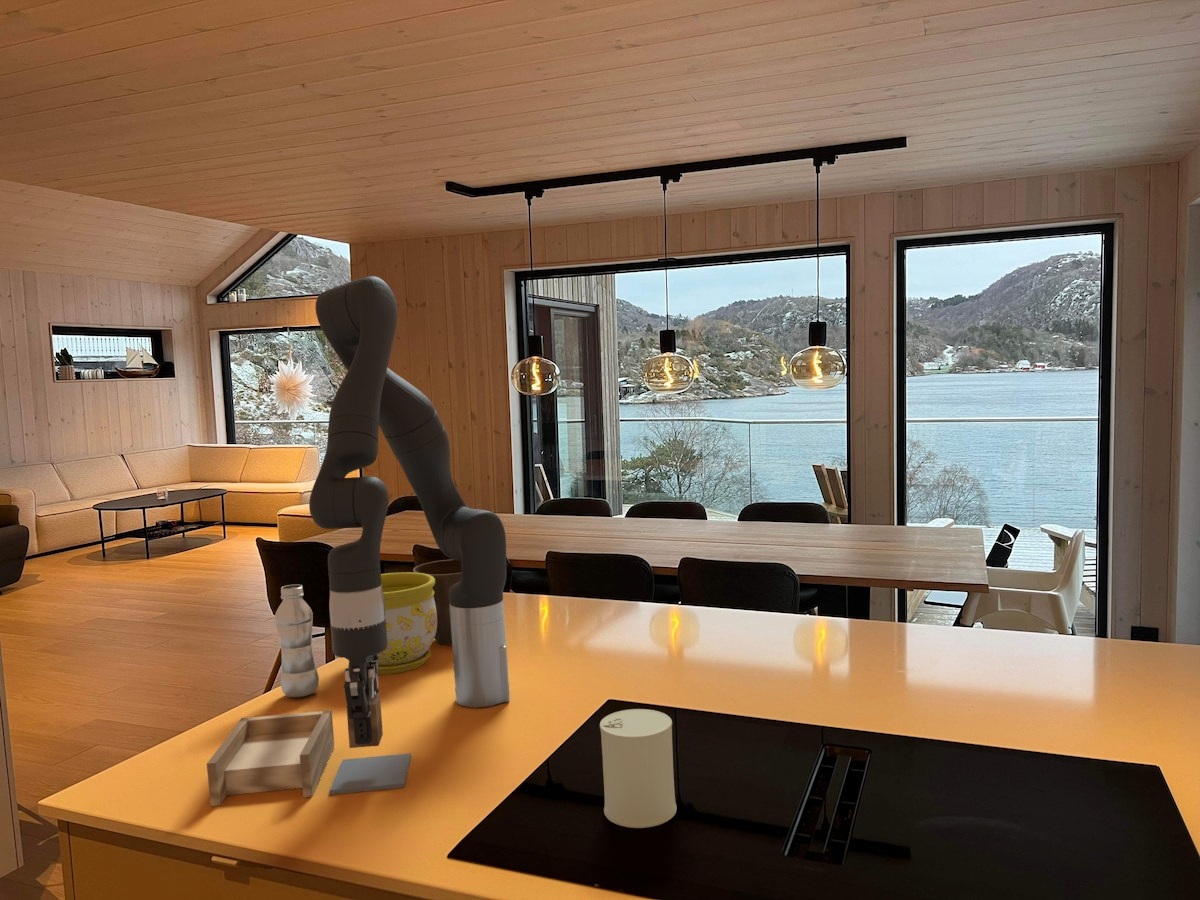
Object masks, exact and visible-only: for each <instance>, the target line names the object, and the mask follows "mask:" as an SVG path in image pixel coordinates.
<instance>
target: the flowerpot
mask: <svg viewBox="0 0 1200 900" xmlns="http://www.w3.org/2000/svg"><path fill="white" fill-rule="evenodd" d="M381 585H382V591H383V596H384V602H385V616H386V631H387V648H386V649H385V650H384V651H383V652H381V653H379V654H377V655H378V675H390V674H399V673H403V672H407V671H411V670H414V669H418V668H419V667H421V666H423V665H424V664H425V663H426V662H427V660H428V658H429V657H430V656H431V654H432V652H431V650H430V647H431V645H432V644H433V642H434V641H435V638H434V637H435V634H436V630H437V611H436V605H435V601H434V596H433V595H434V591H433V588H432V587H433V586H434V585H435V579H434V577H433V576H431V575H428V574H424V573H414V571H413V572H410V571H409V572H408V571H407V572H388V573H387V572H386V573H381Z"/></svg>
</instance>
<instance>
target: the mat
mask: <svg viewBox="0 0 1200 900" xmlns="http://www.w3.org/2000/svg"><path fill="white" fill-rule="evenodd" d="M411 760H412V752H410V753H409V752H408V753H399V754H391V755H390V754H389V755H387V754H386V755H378V756H377V755H376V756H368V757H367V756H366V757H357V758H346V759H342V760H341V762H340V765H339V767H338V768H337V772H336V775H335V777H334V779H333V782H332V784H331V786H330V788H329V795H341V794H351V793H352V794H353V793H359V792H360V793H361V791H362V792H371V791H381V790H392V789H403V788H405V785H406V780H407V778H408V777H407V776H408V774H409V769H410V765H411V762H412V761H411Z"/></svg>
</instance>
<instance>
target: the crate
mask: <svg viewBox="0 0 1200 900" xmlns="http://www.w3.org/2000/svg"><path fill="white" fill-rule="evenodd" d="M333 725H334V724H333V712H332V710H323V711H322V710H320V711H309V712H308V711H307V712H298V713H287V714H275V715H266V716H265V715H262V716H252V717H243V718H242V717H241V718H240V719H239V721H238V722H237V724H236V725H235V726H234V727H233V729H232V730H231V732H230V733H229V734H228V735H227V737H226V738H225V739H224V740H223V742H222V743H221V744H220V745H219V747H218V749H217V750H216V751H215V753H213V755H212V756H211V757H210V759H209V760H208V761H207V763H206V770H207V771H206V772H207V781H208V782H207V783H208V791H209V801H210V807H220V806H221V804H222V803H223V801H224V800H225V799H226V797H227V796H231V795H233V796H234V795H241V794H243V795H244V794H253V793H263V792H272V791H273V792H274V791H282V790H284V789H285V790H293V789H294V788H296V789H302V794H303V795H302V797H303V798H312V797H314V794H315V792H316V790H317V788H318V786H319V783H320V781H321V779H320V778H322V777H323V775H322V774H324V773H323V772H325V770H326V768H327V766H328V764H327V762H328V760H329V761H330V759H331V757H332V755H331V753H332V751H333V749H334V750H335V748H334V746H335V738H334V737H335V735H334V726H333ZM333 752H334V751H333ZM332 754H333V753H332ZM330 756H331V757H330ZM329 758H330V759H329ZM328 763H329V762H328ZM326 765H327V766H326ZM325 767H326V768H325ZM324 769H325V770H324ZM321 776H322V777H321ZM317 785H318V786H317ZM294 790H295V789H294Z"/></svg>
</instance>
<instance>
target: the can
mask: <svg viewBox="0 0 1200 900" xmlns="http://www.w3.org/2000/svg"><path fill="white" fill-rule="evenodd" d="M599 729H600V737H601V753H602V772H603V788H604V789H603V791H604V807H603V813H604V816H605V817H606V818H607V820H608V821H610V822H611V823H613V824H615V825H618V826H621V827H625V828H633V829H644V828H645V829H646V828H652V827H657V826H660V825H663V824H664V823H665V824H666V822H668V821H669V820H671V819H672V818H674V816H675V815H676V813H677V803H676V796H675V795H676V794H675V792H676V791H675V780H674V779H675V778H674V777H675V776H674V775H675V773H674V757H673V756H674V755H673V754H674V753H673V751H674V750H673V720H672V718H671V717H670V716H669V715H667V714H666V713H664V712H661V711H658V710H655V709H645V708H631V709H623V710H619V711H615V712H613V713H610V714H608V715H605V716H604V717H603V718H602V719H601V720H600V723H599Z"/></svg>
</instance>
